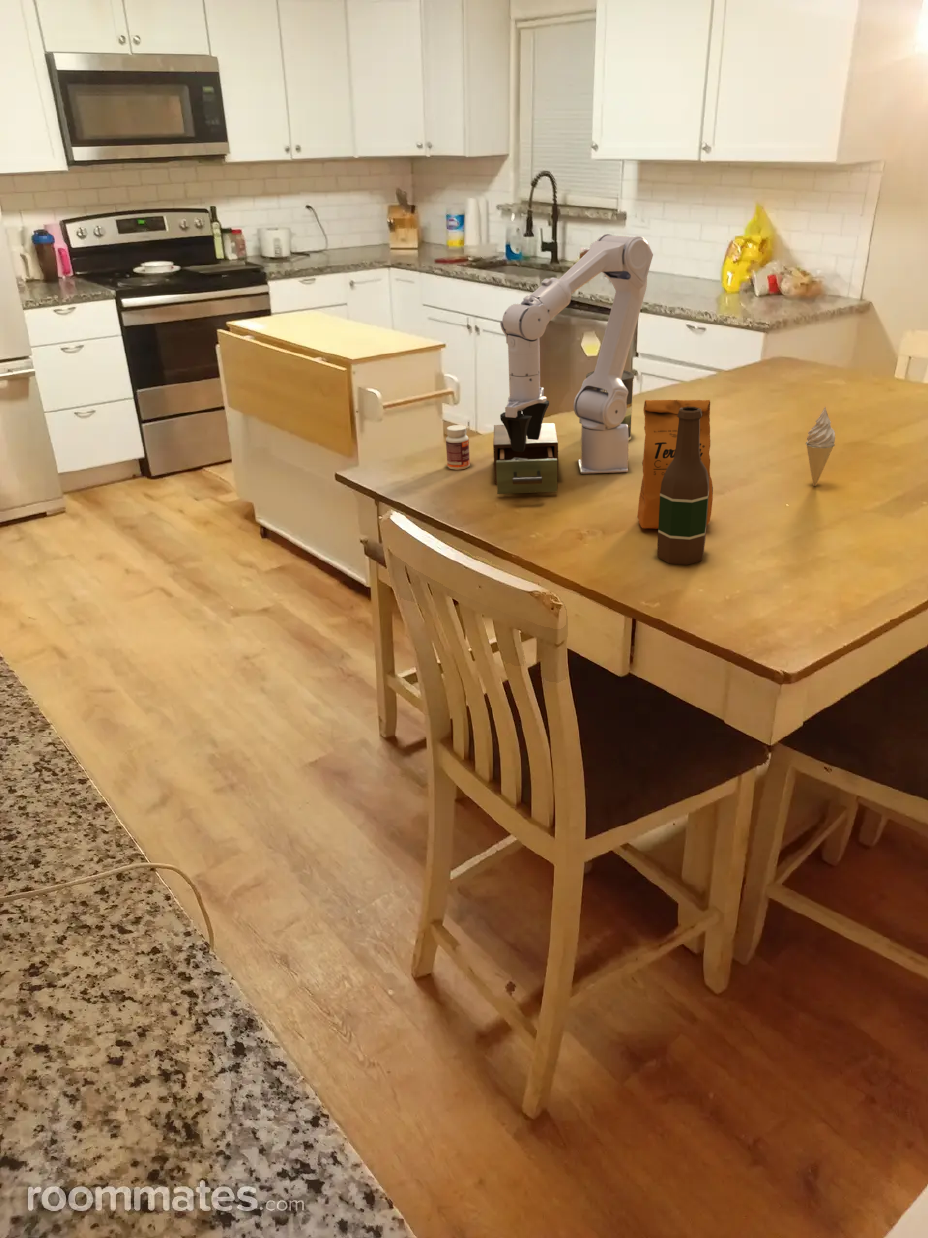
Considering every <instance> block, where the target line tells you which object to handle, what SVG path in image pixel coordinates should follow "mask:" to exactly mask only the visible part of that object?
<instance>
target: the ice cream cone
mask: <svg viewBox="0 0 928 1238" xmlns="http://www.w3.org/2000/svg"><path fill="white" fill-rule="evenodd" d="M831 424H832V421H831V419H830V417H829V413H828V410H827V407H826V406H824V408H823V409H822V412H821V413H820V415H819V416H818V418H817V419H815V424H814V425H813V427H811V429H810V430H809V431H808V432H807V434H808V435H807V437H806V442H805V445H806V450H807V456H808V462H809V463H808V464H809V468H810V474H811V480H812V486H813V487H816V486H817V484H818V482H819V480H820V477H821V476H822V473H823V471H824V468H825V466H826V464H827V462H828V460H829V457H830V456H831V454H832V453H831V452H832V450H833V449H834V447H835V446H836V445H835V442H836V432H835V431H836V430H835V429H834V428H833V427H832V425H831Z"/></svg>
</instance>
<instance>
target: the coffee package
mask: <svg viewBox="0 0 928 1238" xmlns="http://www.w3.org/2000/svg"><path fill="white" fill-rule="evenodd" d="M687 406H689V407H697V408H700V409H701V411H702V417H701V418H700V458H701V461H702V463H703V464H704V466H705V467H706V469H707V472H708V476H709V499H708V512H707V524H706V527H707V526H708V525H709V523H710V521H711V517H712V511H713V500H714V499H713V498H714V486H713V481H712V479H713V478H712V477H711V473H710V472H711V471H710V470H711V456H710V450H711V423H710V422H711V399H645V400H644V403H643V411H642V412H643V416H644V425H643V426H644V427H643V430H644V434H645V435H644V443H643V457H642V462H641V464H642V479H641V485H640V492H639V496H638V507H637V519H638V523H639V526H640V527H641V528H642V529H654V530H658V524H659V505H660V490H661V483H662V480H663V477H664V474H665V472H666V469H667V467H668V466H669V464H670V463H671V462H672V460H673V459H674V455H675V449H676V441H677V432H678V424H679V418H678V417H677V415H678V412H679V410H680V408H683V407H687Z"/></svg>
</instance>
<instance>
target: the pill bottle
mask: <svg viewBox="0 0 928 1238" xmlns="http://www.w3.org/2000/svg"><path fill="white" fill-rule="evenodd" d="M467 433H468V432H467V426H465V425H462V424H454V425H449V426H447V427H446V434H447V436H446V437H445V449H446V463H447V468H448V469H450V470H457V471H460V470H464V469H468V468H469V467H470V466H471V465H470V464H471V463H470V462H471V461H470V439H469V436H468V435H467Z"/></svg>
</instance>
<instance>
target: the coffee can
mask: <svg viewBox="0 0 928 1238" xmlns="http://www.w3.org/2000/svg"><path fill="white" fill-rule="evenodd" d="M594 371H595V370H594ZM594 371H590V372H587V374H586V375H585V379H586V378H587V377H589V376H590V375H592V374H593V373H594ZM634 379H635V374H634V372H631V371H629V370H625V369H624V370H623V374H622V377H621V380H622V382H623V384H624V385H625V387H626V388H627V390H628V396H627V402H626V403H627V411H626V415H625V418H624V419H623V421H622V422H621V423H620V424H627V426H628V438H629V441H630V440H632V423H633V422H632V421H633V401H634ZM601 391H602V392H606V393H608V392H607V390H605V389H603V390H601Z"/></svg>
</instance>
